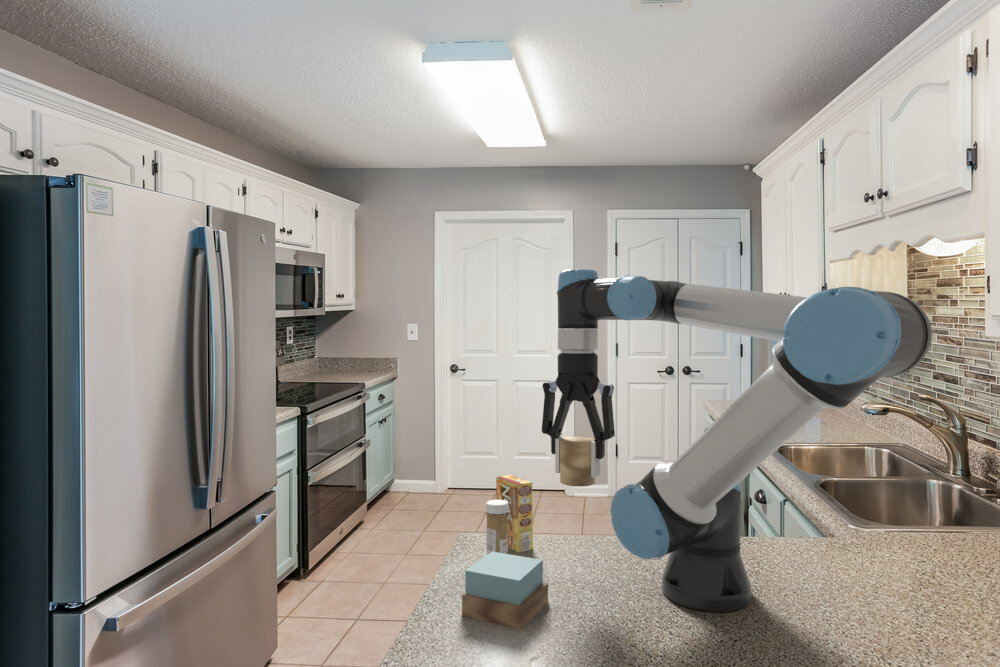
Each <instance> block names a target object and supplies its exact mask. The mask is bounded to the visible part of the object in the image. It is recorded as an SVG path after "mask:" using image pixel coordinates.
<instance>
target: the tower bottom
mask: <svg viewBox="0 0 1000 667" xmlns="http://www.w3.org/2000/svg"><path fill="white" fill-rule="evenodd" d="M547 602H549V583H548V582H544V581H543V583H542V584H541V585H540V586H539V587H538V588H537V589H536V590H535V591H534V592H533V593H532V594H531V595H530V596H529V597H528V598H527V599H526V600H525V601H524V602H523V603H521V604H520V605H516V604H511V603H506V602H501V601H496V600H492V599H487V598H482V597H477V596H472V595H468V594H466V591H465V592H464V593H462V594H461V611H462V612H461V616H462V617H464V618H465V617H466V618H469V619H474V620H478V621H481V622H485V623H490V624H494V625H497V626H502V627H507V628H510V629H515V630H518V631H522V630H523V629H524V628H525V627H526V626H527V625H528V624H529V623H531V621H532V620H533V618H535V617H536V615H537V614H538V613H539V612H540V611H541V610H542V609H543V608H544V607H545V606H546V605H547V604H548V603H547Z"/></svg>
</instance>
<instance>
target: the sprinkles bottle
mask: <svg viewBox="0 0 1000 667" xmlns="http://www.w3.org/2000/svg"><path fill="white" fill-rule="evenodd" d="M485 512H486V555H488V554H489V553H491V552H498V553H504V554H509V547H508V526H507V524H508V522H507V514H508V502H507V501H505V500H497V499H491V500H490V499H489V500H488V501H486V503H485Z"/></svg>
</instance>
